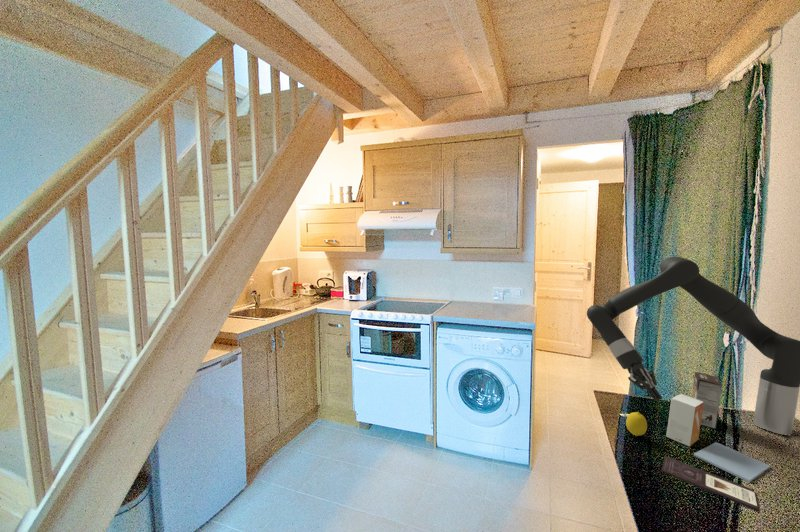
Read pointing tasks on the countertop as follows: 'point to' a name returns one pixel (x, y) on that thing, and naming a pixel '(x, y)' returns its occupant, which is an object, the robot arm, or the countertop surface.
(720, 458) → the flat blue-gray panel
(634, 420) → the lemon
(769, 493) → the countertop surface
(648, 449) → the countertop surface
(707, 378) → the coffee box
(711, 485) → the chocolate bar
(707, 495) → the countertop surface
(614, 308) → the robot arm
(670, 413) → the small box
